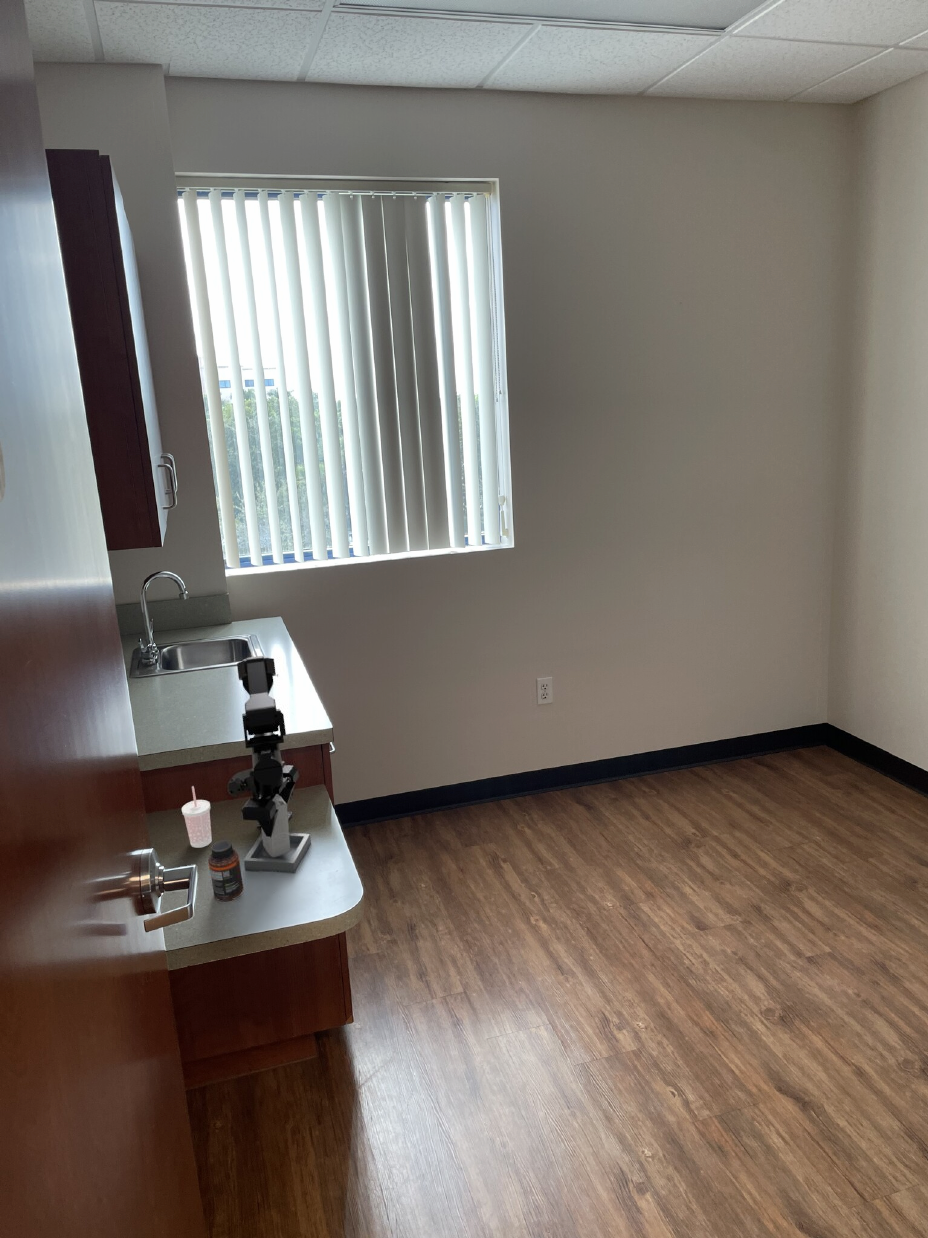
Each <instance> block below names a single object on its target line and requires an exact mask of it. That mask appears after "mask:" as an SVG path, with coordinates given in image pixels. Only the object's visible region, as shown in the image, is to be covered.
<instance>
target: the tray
mask: <svg viewBox="0 0 928 1238" xmlns="http://www.w3.org/2000/svg"><path fill="white" fill-rule="evenodd" d="M289 839H290V852H288V853H286V854H283V855H280V856H277V857H274V858H273V857H271V856H270V854H269V853H268V852H267V850H266V849H265V848H264V846H263V839H262V833H261V834H260V835H259V836H258V838H257V840H256V841H255V843H254V844H253V846H252V847H251V849H250V850H249V852H248V853H247V854H246V857H245V858H244V860H243V863H244V864H243V865H244V871H247V872H265V873H284V874H296V872H297V870H298V869H299V867H300V865H301V864H302V861H303V860H304V857H305V856H306V853H307V852H308V850H309V848H310V846H311V845H312V842H311V841H312V840H311V839H312V838H311V833H299V832H297V833H294V832H289Z"/></svg>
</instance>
